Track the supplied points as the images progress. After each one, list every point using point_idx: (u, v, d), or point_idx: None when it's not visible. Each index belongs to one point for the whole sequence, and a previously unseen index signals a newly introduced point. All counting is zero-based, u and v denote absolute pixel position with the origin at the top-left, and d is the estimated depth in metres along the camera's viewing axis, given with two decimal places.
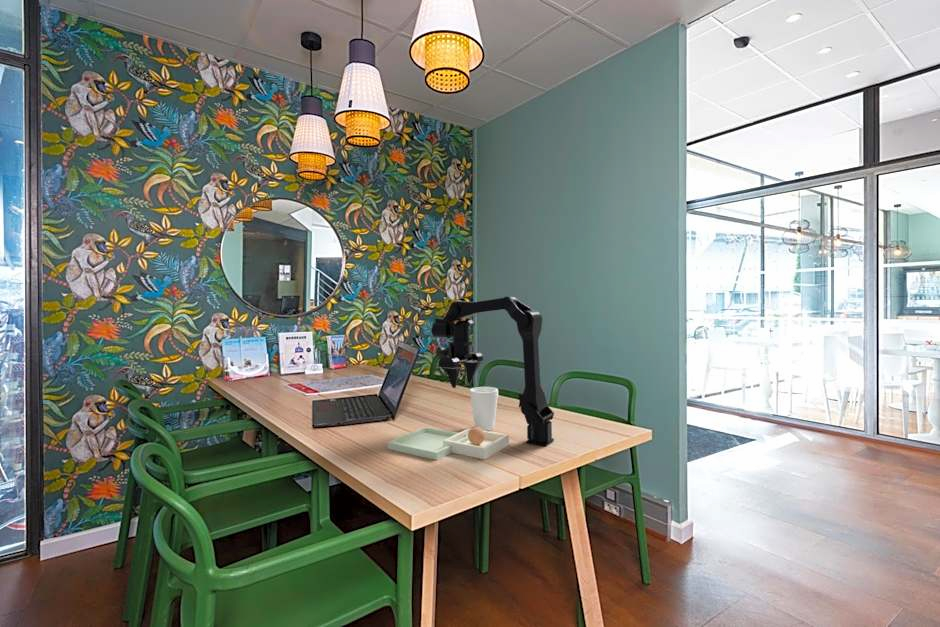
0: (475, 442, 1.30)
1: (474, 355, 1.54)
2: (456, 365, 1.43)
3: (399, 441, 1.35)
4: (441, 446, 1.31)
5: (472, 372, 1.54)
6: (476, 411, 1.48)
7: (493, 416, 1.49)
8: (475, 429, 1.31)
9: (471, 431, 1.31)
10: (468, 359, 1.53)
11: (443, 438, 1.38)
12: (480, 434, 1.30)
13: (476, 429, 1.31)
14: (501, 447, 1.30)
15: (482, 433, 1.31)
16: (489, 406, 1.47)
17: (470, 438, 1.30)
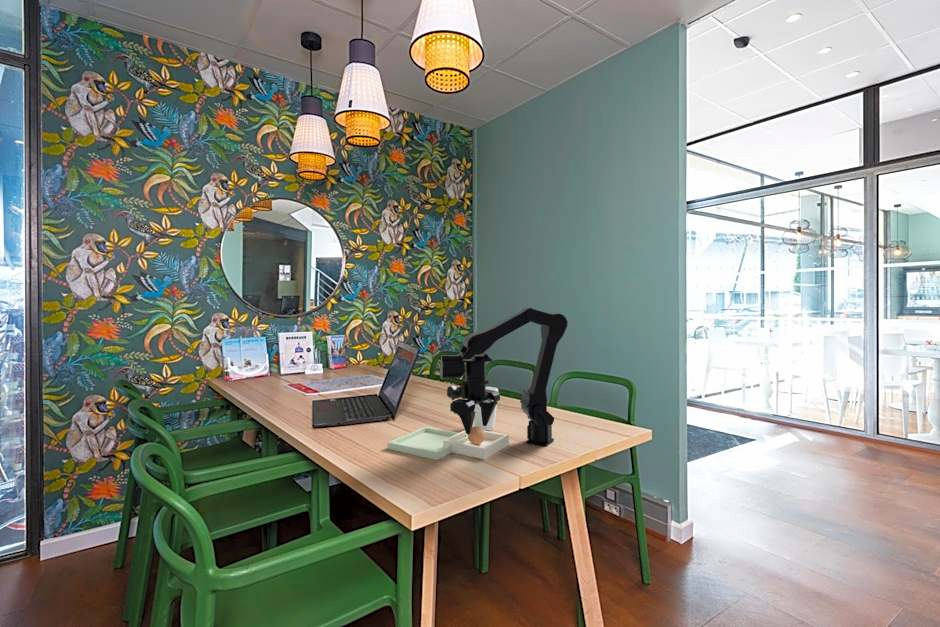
0: (475, 442, 1.30)
1: (490, 394, 1.35)
2: (471, 410, 1.24)
3: (399, 441, 1.35)
4: (441, 446, 1.31)
5: (488, 414, 1.35)
6: (476, 411, 1.48)
7: (493, 416, 1.49)
8: (475, 429, 1.31)
9: (471, 431, 1.31)
10: (483, 399, 1.34)
11: (443, 438, 1.38)
12: (480, 434, 1.30)
13: (476, 429, 1.31)
14: (501, 447, 1.30)
15: (482, 433, 1.31)
16: None
17: (470, 438, 1.30)
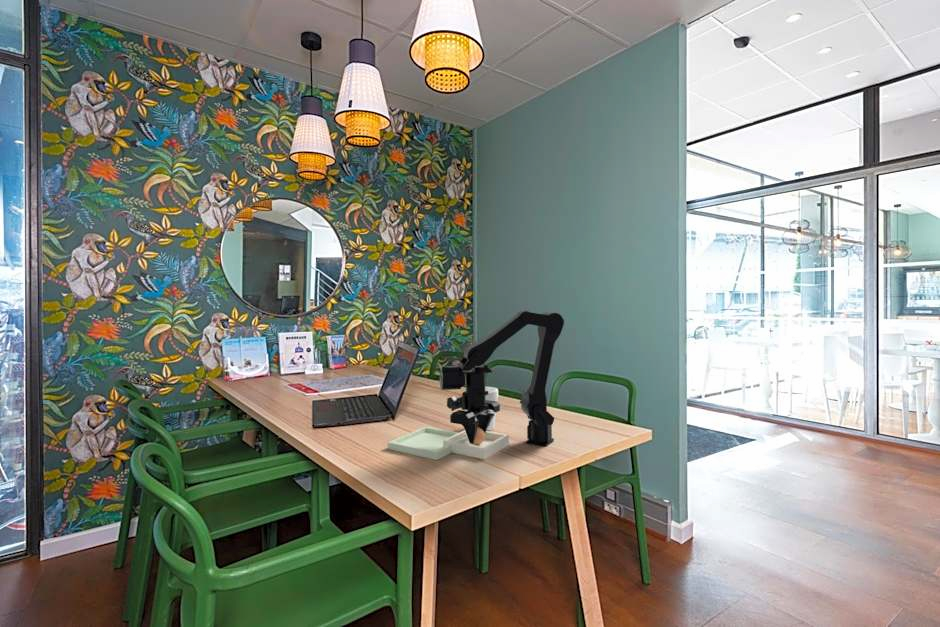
0: (475, 442, 1.30)
1: (490, 405, 1.35)
2: (471, 421, 1.24)
3: (399, 441, 1.35)
4: (441, 446, 1.31)
5: (485, 426, 1.33)
6: None
7: (493, 416, 1.49)
8: None
9: None
10: None
11: (443, 438, 1.38)
12: (480, 434, 1.30)
13: None
14: (501, 447, 1.30)
15: (482, 433, 1.31)
16: None
17: None
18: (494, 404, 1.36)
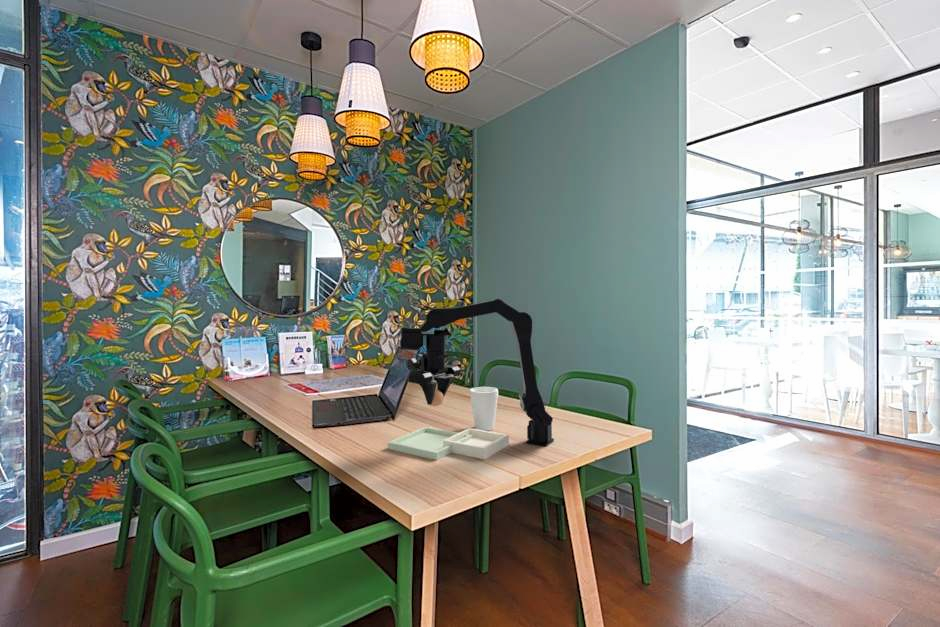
0: (433, 403, 1.32)
1: (450, 369, 1.37)
2: (428, 381, 1.26)
3: (399, 441, 1.35)
4: (441, 446, 1.31)
5: (444, 389, 1.35)
6: (476, 411, 1.48)
7: (493, 416, 1.49)
8: None
9: None
10: (439, 374, 1.35)
11: (443, 438, 1.38)
12: (438, 395, 1.32)
13: (435, 391, 1.33)
14: (501, 447, 1.30)
15: (440, 395, 1.32)
16: (489, 406, 1.47)
17: None
18: (454, 368, 1.37)
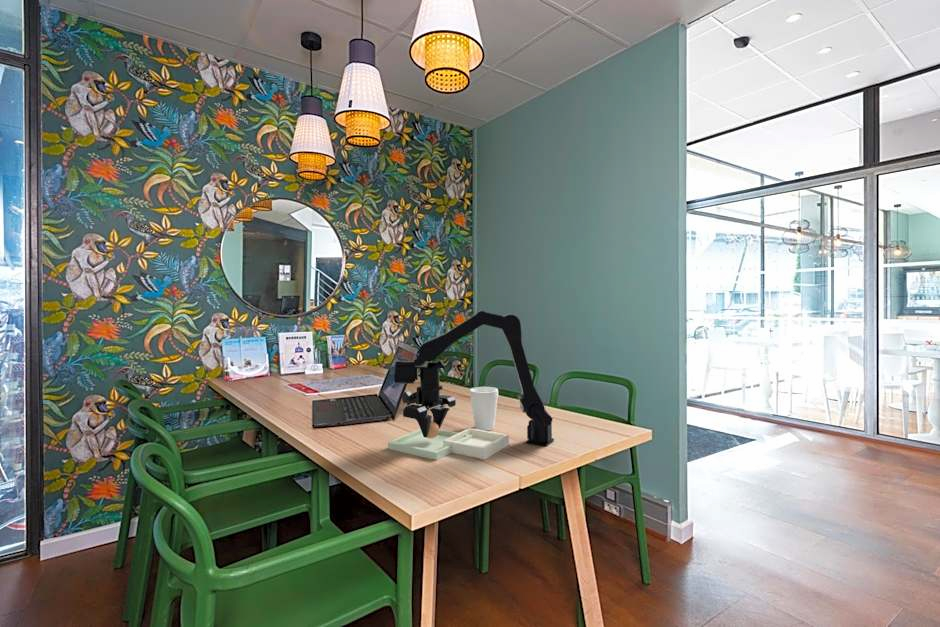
0: (429, 436, 1.33)
1: (445, 400, 1.38)
2: (422, 415, 1.27)
3: (399, 441, 1.35)
4: (441, 446, 1.31)
5: (439, 420, 1.36)
6: (476, 411, 1.48)
7: (493, 416, 1.49)
8: None
9: None
10: (435, 406, 1.36)
11: (443, 438, 1.38)
12: (434, 428, 1.33)
13: (430, 423, 1.33)
14: (501, 447, 1.30)
15: (436, 427, 1.33)
16: (489, 406, 1.47)
17: None
18: (449, 399, 1.38)
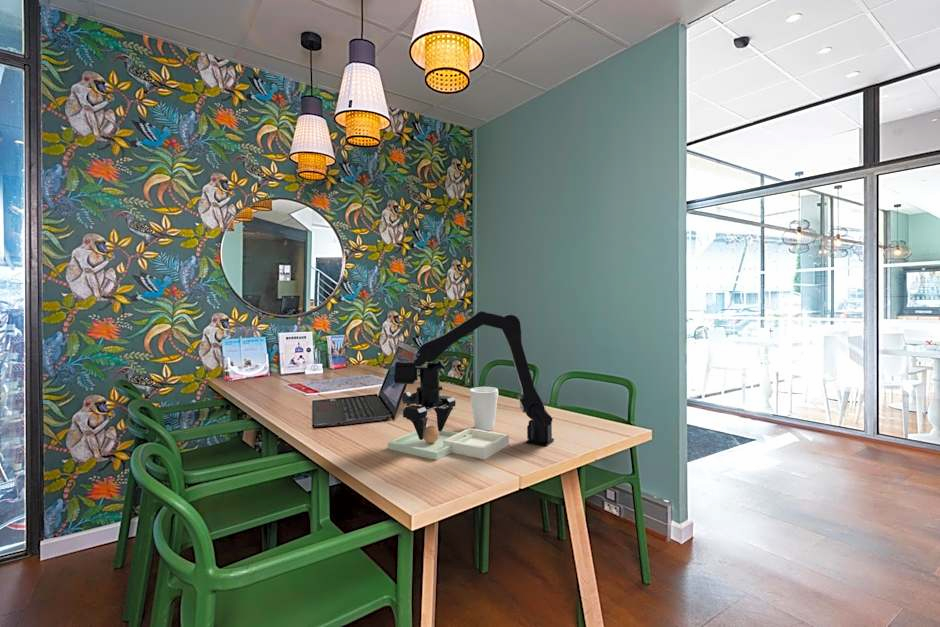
0: (429, 440, 1.33)
1: (445, 400, 1.38)
2: (422, 416, 1.27)
3: (399, 441, 1.35)
4: (441, 446, 1.31)
5: (443, 419, 1.38)
6: (476, 411, 1.48)
7: (493, 416, 1.49)
8: (429, 428, 1.34)
9: (425, 429, 1.34)
10: (438, 405, 1.37)
11: (443, 438, 1.38)
12: (434, 432, 1.33)
13: (430, 428, 1.34)
14: (501, 447, 1.30)
15: (436, 431, 1.33)
16: (489, 406, 1.47)
17: (424, 436, 1.33)
18: (449, 399, 1.38)
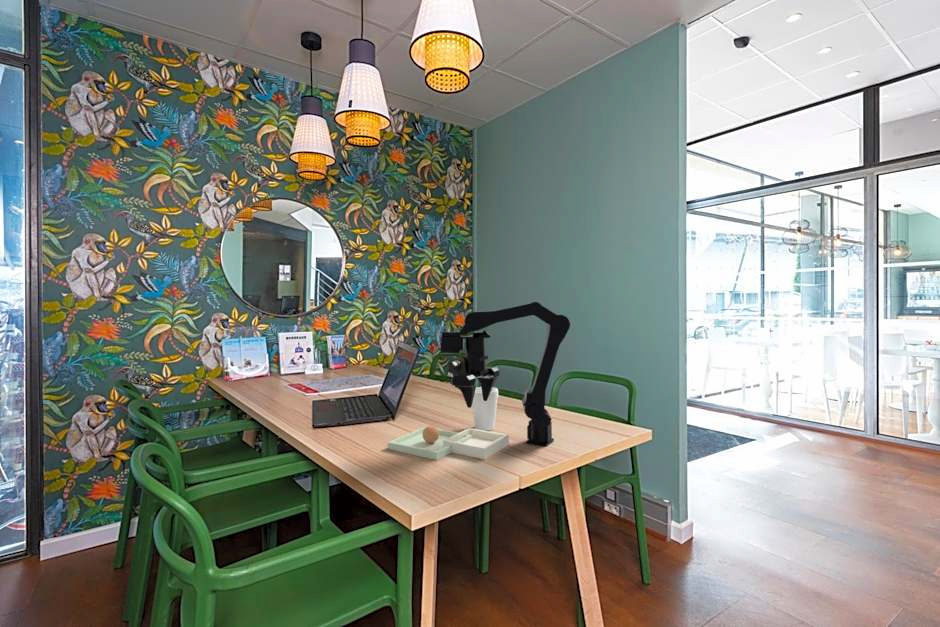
0: (429, 440, 1.33)
1: (490, 370, 1.40)
2: (472, 383, 1.28)
3: (399, 441, 1.35)
4: (441, 446, 1.31)
5: (488, 389, 1.40)
6: (476, 411, 1.48)
7: (493, 416, 1.49)
8: (429, 427, 1.34)
9: (425, 429, 1.34)
10: (483, 375, 1.39)
11: (443, 438, 1.38)
12: (434, 432, 1.33)
13: (430, 427, 1.34)
14: (501, 447, 1.30)
15: (436, 431, 1.33)
16: (489, 406, 1.47)
17: (424, 436, 1.33)
18: (494, 369, 1.40)
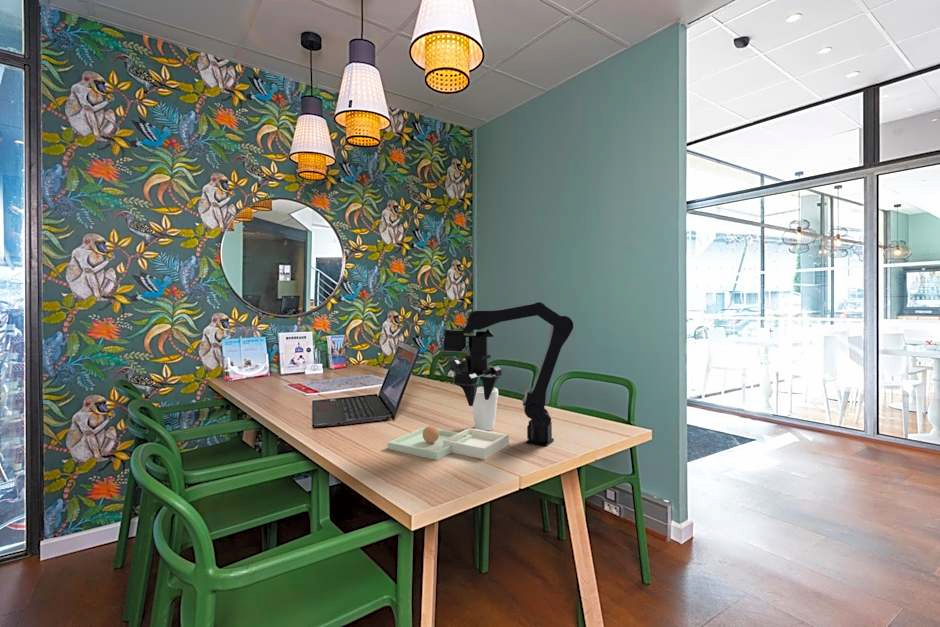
0: (429, 440, 1.33)
1: (492, 369, 1.40)
2: (474, 381, 1.29)
3: (399, 441, 1.35)
4: (441, 446, 1.31)
5: (490, 388, 1.40)
6: (476, 411, 1.48)
7: (493, 416, 1.49)
8: (429, 427, 1.34)
9: (425, 429, 1.34)
10: (486, 374, 1.39)
11: (443, 438, 1.38)
12: (434, 432, 1.33)
13: (430, 427, 1.34)
14: (501, 447, 1.30)
15: (436, 431, 1.33)
16: (489, 406, 1.47)
17: (424, 436, 1.33)
18: (496, 368, 1.40)
